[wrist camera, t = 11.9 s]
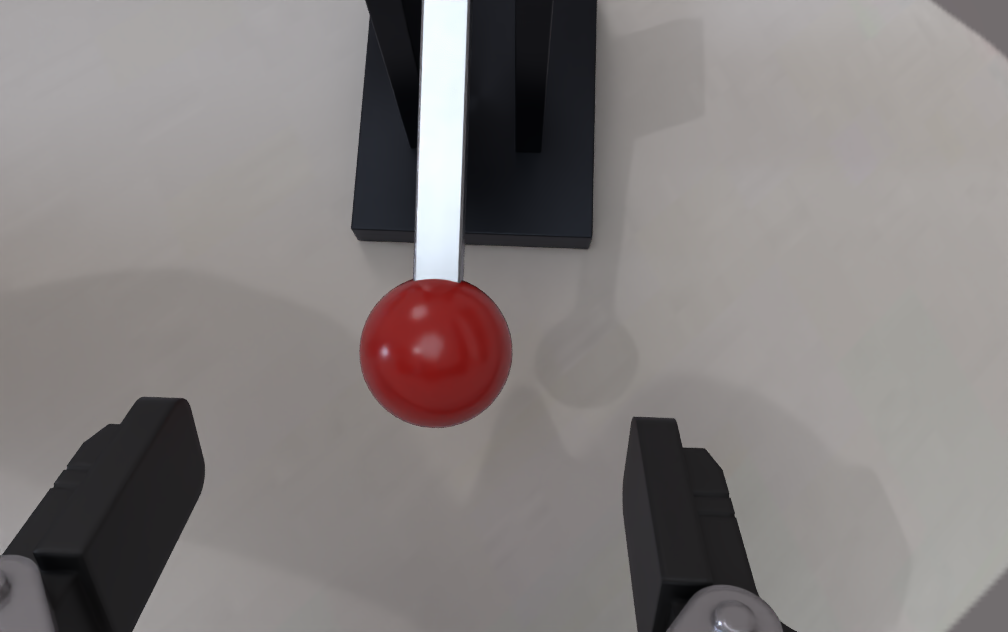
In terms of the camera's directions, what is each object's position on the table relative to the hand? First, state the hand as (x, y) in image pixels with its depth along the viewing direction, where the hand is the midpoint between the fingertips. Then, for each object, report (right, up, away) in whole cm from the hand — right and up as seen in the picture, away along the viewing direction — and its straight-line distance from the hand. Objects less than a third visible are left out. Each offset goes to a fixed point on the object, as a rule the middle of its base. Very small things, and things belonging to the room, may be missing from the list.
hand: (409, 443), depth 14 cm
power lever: (0, +7, +6) cm, 9 cm away
